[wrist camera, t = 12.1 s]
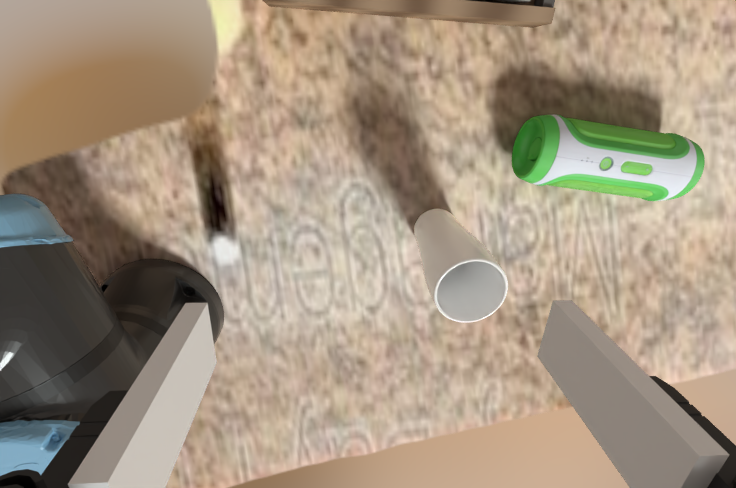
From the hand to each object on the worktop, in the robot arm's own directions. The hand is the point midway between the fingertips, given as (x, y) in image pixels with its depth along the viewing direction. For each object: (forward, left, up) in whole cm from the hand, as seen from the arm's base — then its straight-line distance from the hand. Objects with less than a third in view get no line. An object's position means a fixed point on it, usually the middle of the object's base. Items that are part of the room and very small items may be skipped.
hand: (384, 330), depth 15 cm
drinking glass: (+10, -8, -31) cm, 34 cm away
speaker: (+26, +2, -31) cm, 41 cm away
